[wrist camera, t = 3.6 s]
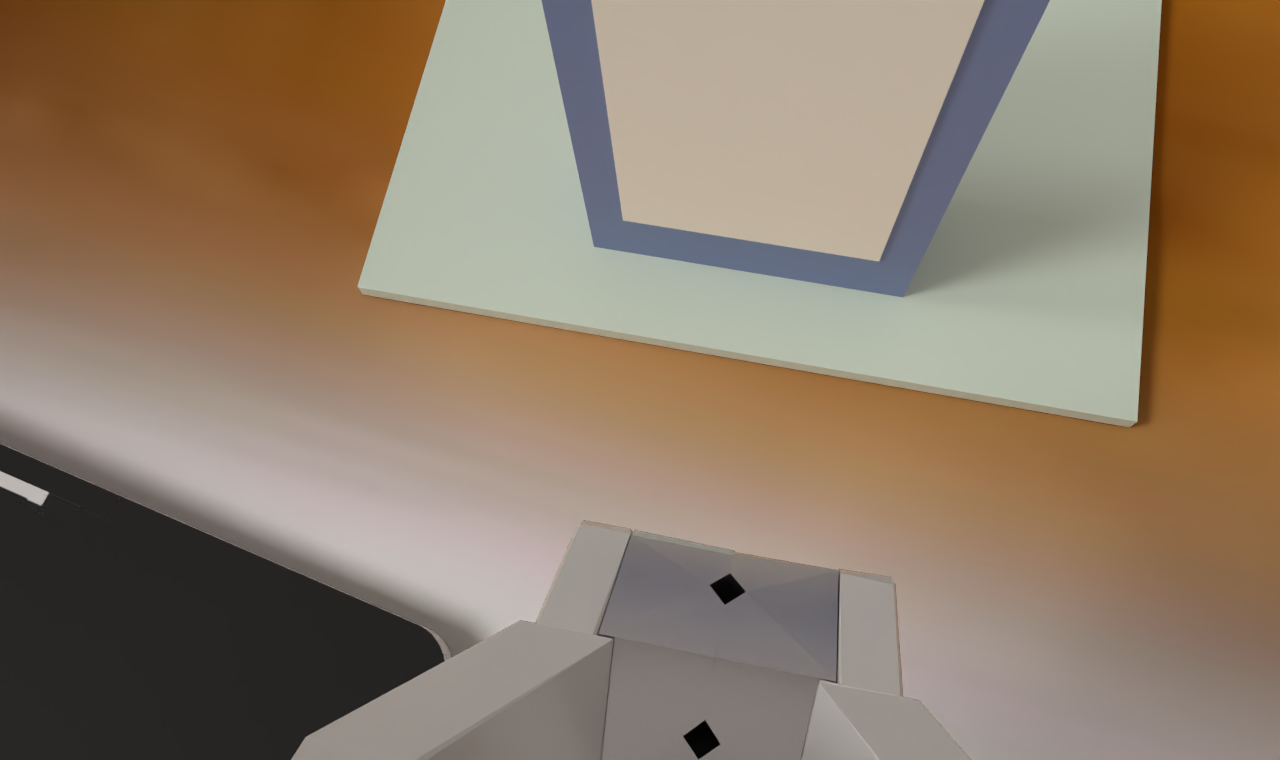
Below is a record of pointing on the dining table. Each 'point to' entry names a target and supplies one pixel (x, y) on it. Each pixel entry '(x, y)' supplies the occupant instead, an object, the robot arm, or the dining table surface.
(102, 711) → the smartphone
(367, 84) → the dining table surface
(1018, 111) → the mat
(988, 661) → the dining table surface
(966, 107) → the box
